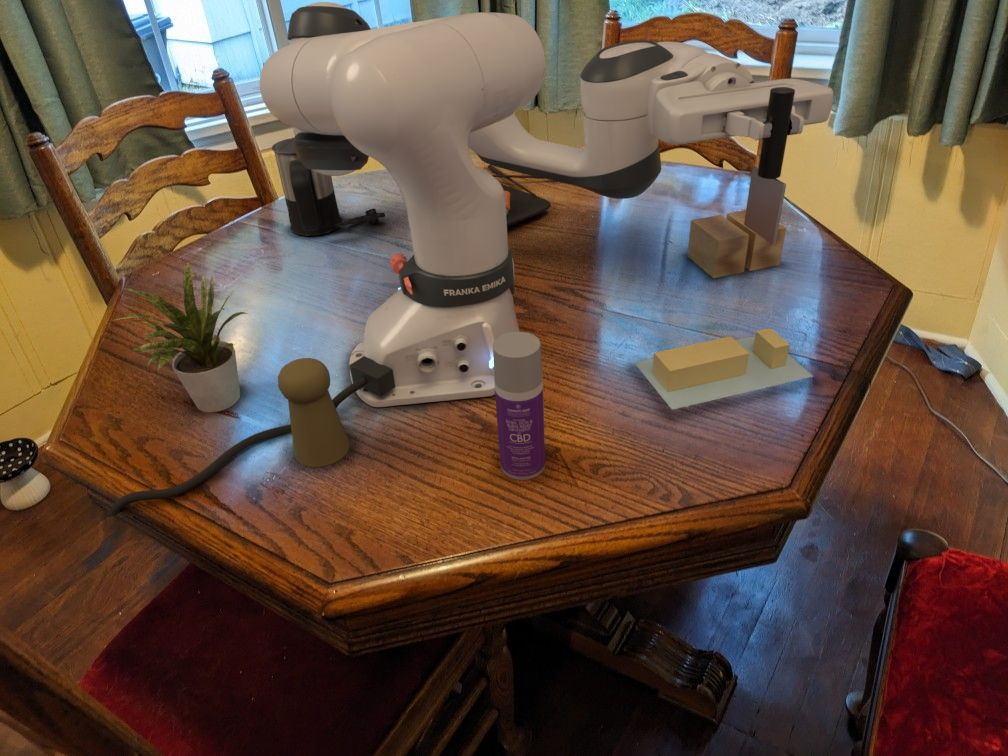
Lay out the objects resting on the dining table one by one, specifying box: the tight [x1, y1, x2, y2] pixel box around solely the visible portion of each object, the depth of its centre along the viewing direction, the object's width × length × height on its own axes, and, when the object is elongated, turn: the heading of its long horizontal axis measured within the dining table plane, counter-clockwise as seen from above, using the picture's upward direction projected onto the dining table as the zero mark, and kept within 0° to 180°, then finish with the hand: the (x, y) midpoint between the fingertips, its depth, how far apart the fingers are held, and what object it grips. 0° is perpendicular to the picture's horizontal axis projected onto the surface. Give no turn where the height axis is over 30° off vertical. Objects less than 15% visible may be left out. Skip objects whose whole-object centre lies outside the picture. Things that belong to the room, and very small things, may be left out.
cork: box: [277, 357, 351, 468], centre depth 77 cm, size 6×6×11 cm
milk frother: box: [270, 137, 386, 237], centre depth 126 cm, size 14×16×15 cm
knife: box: [744, 87, 795, 245], centre depth 79 cm, size 2×6×16 cm, turn 16°
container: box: [493, 331, 546, 481], centre depth 72 cm, size 5×5×15 cm
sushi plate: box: [487, 164, 552, 227], centre depth 138 cm, size 29×30×4 cm
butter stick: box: [653, 335, 749, 392], centre depth 85 cm, size 10×4×3 cm, turn 106°
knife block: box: [687, 209, 787, 279], centre depth 109 cm, size 11×8×6 cm
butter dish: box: [633, 335, 814, 410], centre depth 87 cm, size 18×10×1 cm, turn 106°
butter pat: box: [752, 327, 791, 369], centre depth 87 cm, size 2×4×3 cm, turn 16°
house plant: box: [111, 261, 251, 413], centre depth 85 cm, size 14×14×16 cm
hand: (781, 129), depth 76 cm, fingers closed on knife, 2 cm apart
